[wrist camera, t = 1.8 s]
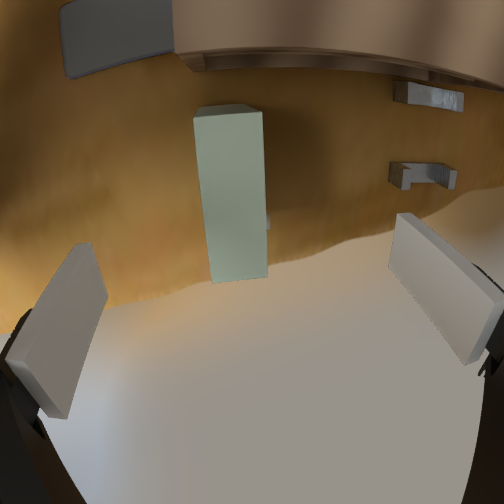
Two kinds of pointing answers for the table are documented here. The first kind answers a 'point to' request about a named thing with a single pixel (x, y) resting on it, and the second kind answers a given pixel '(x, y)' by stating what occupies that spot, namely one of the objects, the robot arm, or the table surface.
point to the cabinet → (348, 37)
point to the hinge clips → (424, 172)
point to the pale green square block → (233, 190)
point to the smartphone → (113, 33)
